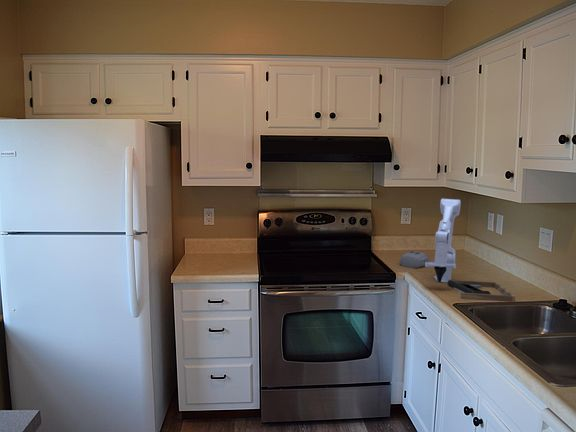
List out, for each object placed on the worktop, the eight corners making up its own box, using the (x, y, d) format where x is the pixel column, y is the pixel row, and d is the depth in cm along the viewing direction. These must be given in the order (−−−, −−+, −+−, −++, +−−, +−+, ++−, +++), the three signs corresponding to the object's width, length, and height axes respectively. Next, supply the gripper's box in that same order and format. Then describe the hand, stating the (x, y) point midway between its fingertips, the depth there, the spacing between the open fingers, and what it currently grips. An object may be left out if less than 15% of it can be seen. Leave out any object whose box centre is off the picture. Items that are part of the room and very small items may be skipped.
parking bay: (448, 284, 232) (448, 279, 231) (496, 286, 229) (496, 282, 229) (461, 298, 208) (461, 293, 208) (514, 301, 206) (515, 296, 206)
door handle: (472, 280, 233) (445, 279, 229) (498, 291, 214) (470, 291, 210) (471, 286, 234) (444, 285, 229) (497, 298, 214) (469, 298, 210)
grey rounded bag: (419, 270, 260) (433, 264, 275) (420, 256, 259) (434, 251, 274) (395, 265, 270) (410, 260, 284) (396, 251, 268) (411, 247, 283)
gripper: (428, 256, 216) (426, 282, 218) (458, 257, 215) (456, 284, 217) (424, 252, 223) (423, 278, 225) (454, 254, 222) (452, 280, 224)
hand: (439, 281), depth 222 cm, fingers closed
